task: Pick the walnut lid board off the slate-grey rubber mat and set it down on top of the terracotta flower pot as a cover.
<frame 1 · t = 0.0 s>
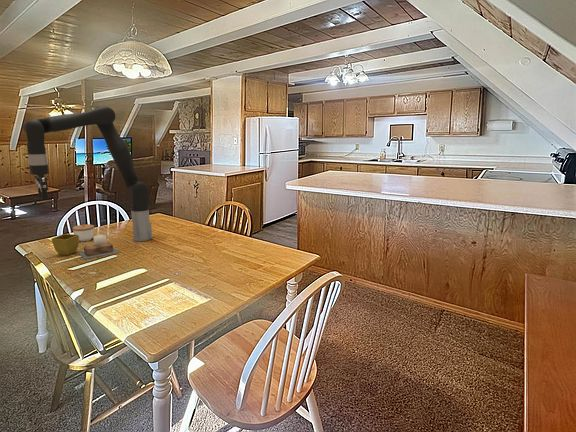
hand: (43, 198, 176), 29 cm above the table, fingers open, 8 cm apart
lidded jar: (85, 240, 210), on the table
mat: (99, 253, 188), on the table
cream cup: (100, 246, 199), on the table
lid: (99, 252, 188), resting on mat
flower pot: (67, 254, 187), on the table
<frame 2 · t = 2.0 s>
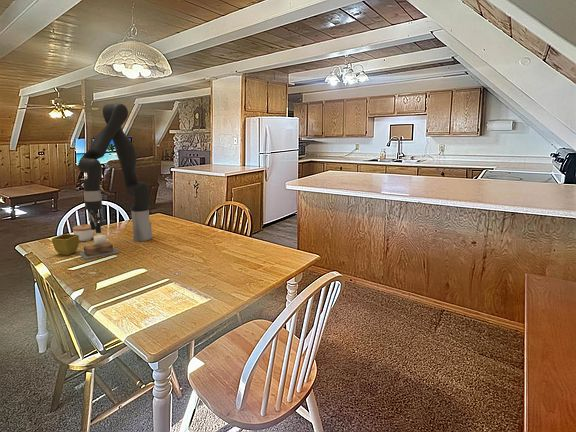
hand: (96, 231, 185), 12 cm above the table, fingers open, 8 cm apart
nothing on the table moved.
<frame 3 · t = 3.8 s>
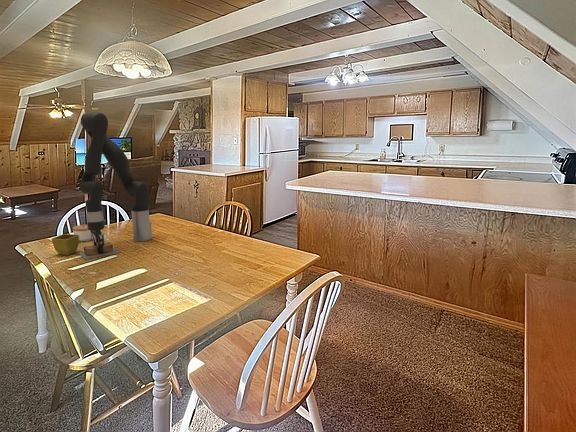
hand: (98, 251, 188), 1 cm above the table, fingers closed on lid, 6 cm apart
lid: (99, 252, 188), resting on mat, touching gripper
everything else where it was.
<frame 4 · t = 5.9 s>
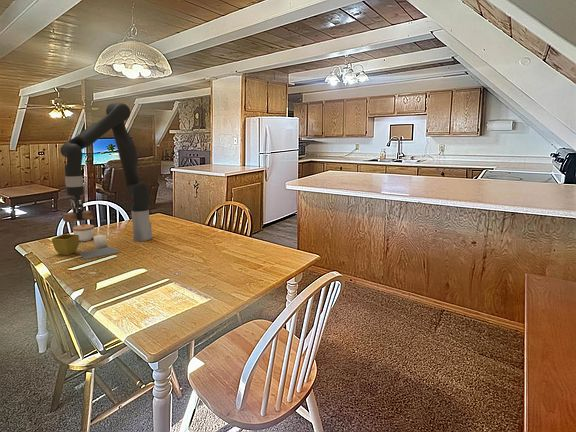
hand: (78, 218, 183), 18 cm above the table, fingers closed on lid, 6 cm apart
lid: (78, 219, 183), point 18 cm above the table, touching gripper
everything else where it was.
when the fingers open (11 cm above the table, at t = 8.2 s): lid drops 2 cm, resting on flower pot.
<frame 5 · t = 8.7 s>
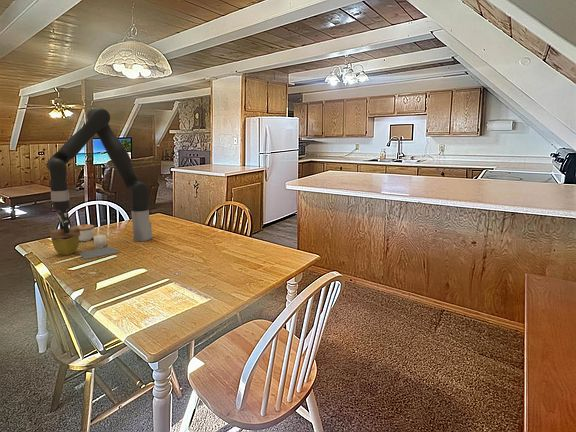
hand: (64, 231, 185), 12 cm above the table, fingers open, 8 cm apart
lid: (65, 236, 185), point 9 cm above the table, touching flower pot
flower pot: (67, 254, 187), on the table, touching lid
everything else where it was.
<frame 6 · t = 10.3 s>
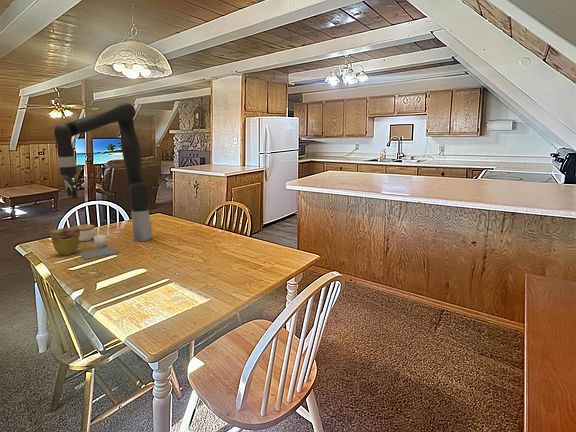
hand: (72, 197, 190), 27 cm above the table, fingers open, 8 cm apart
nothing on the table moved.
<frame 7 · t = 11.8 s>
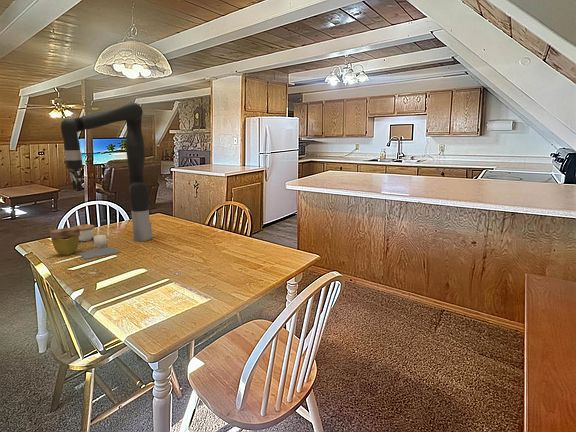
hand: (77, 190, 194), 30 cm above the table, fingers open, 8 cm apart
nothing on the table moved.
at the end: lid 0.2 cm off-centre on the flower pot, point 9.2 cm above the flower pot's base; lid tilted 0°; the gripper is holding nothing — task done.
